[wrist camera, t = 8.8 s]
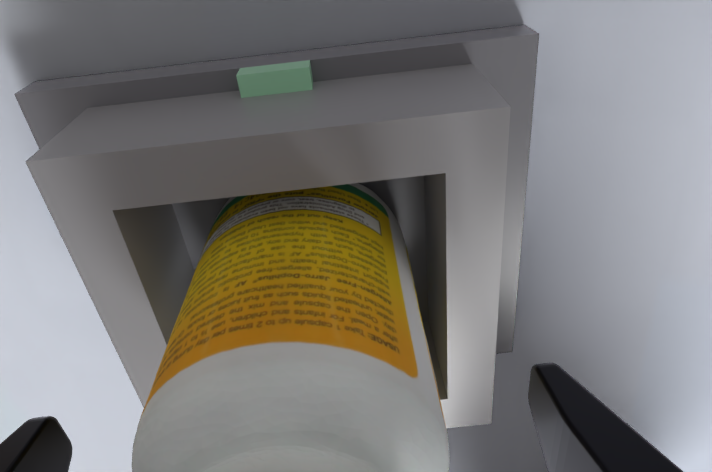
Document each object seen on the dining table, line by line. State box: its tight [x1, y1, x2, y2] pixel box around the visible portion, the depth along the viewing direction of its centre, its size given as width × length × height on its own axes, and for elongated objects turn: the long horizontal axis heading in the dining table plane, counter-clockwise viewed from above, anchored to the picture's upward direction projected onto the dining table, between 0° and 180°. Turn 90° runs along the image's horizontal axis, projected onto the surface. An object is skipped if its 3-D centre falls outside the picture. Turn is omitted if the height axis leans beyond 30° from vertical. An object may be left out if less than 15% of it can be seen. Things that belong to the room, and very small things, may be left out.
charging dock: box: [15, 25, 539, 428], centre depth 14 cm, size 12×10×4 cm
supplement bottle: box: [132, 183, 450, 472], centre depth 11 cm, size 5×5×10 cm
